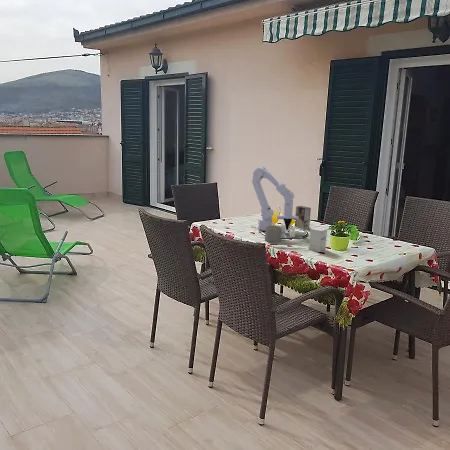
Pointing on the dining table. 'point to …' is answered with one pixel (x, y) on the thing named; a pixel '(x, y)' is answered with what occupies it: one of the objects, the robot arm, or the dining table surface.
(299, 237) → the console
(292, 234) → the slider front
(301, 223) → the coffee box
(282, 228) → the slider back
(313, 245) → the supplement box
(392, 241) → the dining table surface
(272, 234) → the coffee mug
